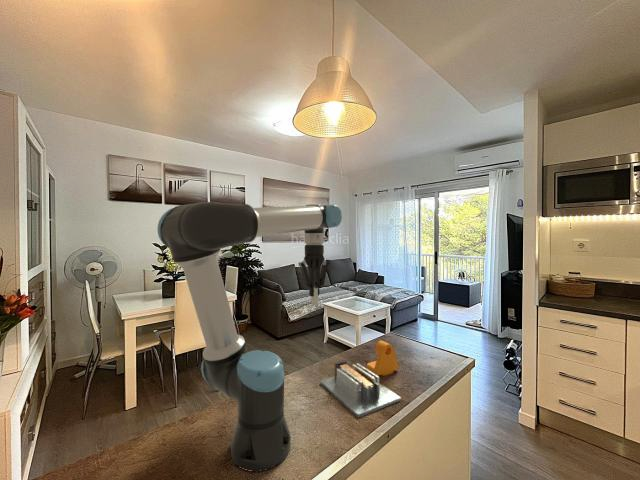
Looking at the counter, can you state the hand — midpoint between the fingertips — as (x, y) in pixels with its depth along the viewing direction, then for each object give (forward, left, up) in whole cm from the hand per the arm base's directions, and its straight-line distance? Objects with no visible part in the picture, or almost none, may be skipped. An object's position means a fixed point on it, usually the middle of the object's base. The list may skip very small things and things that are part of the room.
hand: (314, 304), depth 109 cm
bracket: (+26, -10, -29) cm, 40 cm away
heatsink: (+8, -18, -28) cm, 35 cm away
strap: (+8, -16, -24) cm, 30 cm away
